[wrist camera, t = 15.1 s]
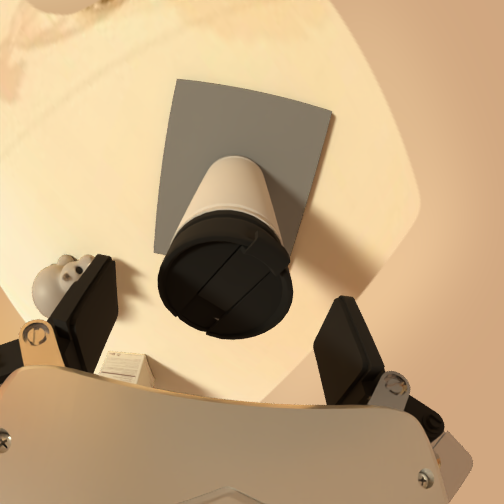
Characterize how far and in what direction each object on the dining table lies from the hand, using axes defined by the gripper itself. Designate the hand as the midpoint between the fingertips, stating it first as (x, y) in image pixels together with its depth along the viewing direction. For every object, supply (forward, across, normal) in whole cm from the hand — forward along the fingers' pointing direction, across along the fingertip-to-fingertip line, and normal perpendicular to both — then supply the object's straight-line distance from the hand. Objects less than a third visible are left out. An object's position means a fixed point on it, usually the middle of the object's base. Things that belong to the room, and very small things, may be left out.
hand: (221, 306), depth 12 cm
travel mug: (+21, 0, +1) cm, 21 cm away
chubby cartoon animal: (+21, +19, +16) cm, 33 cm away
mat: (+21, 0, +1) cm, 21 cm away
